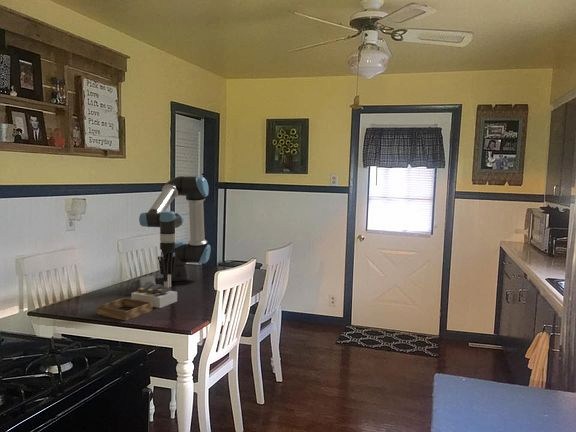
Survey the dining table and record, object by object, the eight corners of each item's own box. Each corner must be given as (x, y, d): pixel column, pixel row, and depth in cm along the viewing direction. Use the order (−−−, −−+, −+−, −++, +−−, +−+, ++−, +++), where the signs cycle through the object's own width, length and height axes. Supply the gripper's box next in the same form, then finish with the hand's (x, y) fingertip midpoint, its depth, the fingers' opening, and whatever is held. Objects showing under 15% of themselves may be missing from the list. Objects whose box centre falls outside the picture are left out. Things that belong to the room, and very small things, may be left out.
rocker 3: (164, 289, 250) (165, 286, 250) (171, 290, 248) (171, 287, 248) (154, 292, 243) (154, 289, 243) (161, 293, 241) (161, 290, 241)
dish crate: (124, 305, 241) (124, 297, 240) (152, 310, 234) (152, 302, 233) (97, 314, 225) (97, 306, 224) (126, 320, 218) (126, 311, 217)
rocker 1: (148, 284, 254) (147, 282, 254) (154, 285, 253) (153, 283, 252) (138, 291, 247) (137, 289, 247) (144, 292, 246) (143, 289, 245)
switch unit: (149, 296, 258) (149, 285, 258) (177, 301, 251) (177, 289, 251) (131, 303, 246) (131, 291, 245) (159, 307, 238) (159, 296, 238)
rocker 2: (156, 286, 252) (156, 283, 252) (162, 287, 251) (162, 284, 250) (146, 292, 245) (146, 289, 245) (152, 293, 244) (152, 290, 243)
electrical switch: (142, 295, 261) (141, 278, 261) (137, 294, 265) (136, 277, 264) (157, 292, 269) (156, 275, 268) (151, 291, 272) (150, 275, 272)
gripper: (170, 239, 254) (170, 283, 256) (152, 242, 241) (152, 289, 244) (181, 240, 251) (181, 285, 253) (164, 244, 238) (164, 290, 241)
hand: (167, 287), depth 248 cm, fingers closed, pressing on rocker 3
